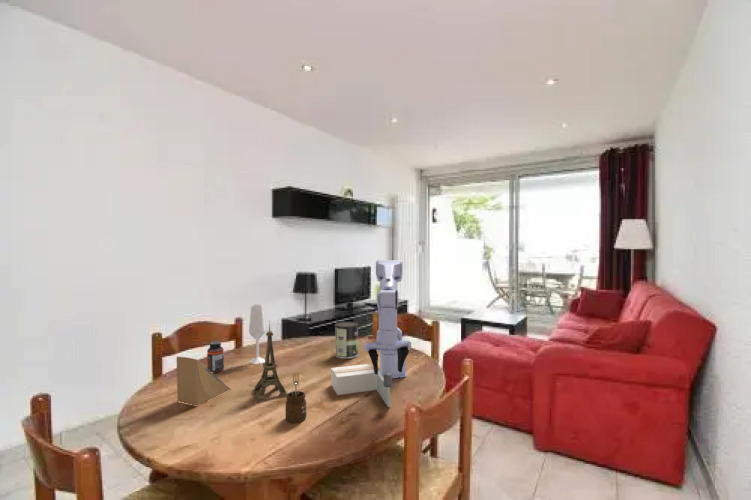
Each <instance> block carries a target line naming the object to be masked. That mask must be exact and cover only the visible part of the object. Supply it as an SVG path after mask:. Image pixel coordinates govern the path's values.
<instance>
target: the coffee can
mask: <svg viewBox="0 0 751 500" xmlns="http://www.w3.org/2000/svg"><path fill="white" fill-rule="evenodd" d="M334 326H335V327H334V328H335V335H334V336H335V338H334V339H335V357H336V358H338V359H343V360H344V359H345V360H347V359H348V360H349V359H355V358H357V357H358V356H359V323H357V322H356V321H355V322H353V321H342V322H341V321H340V322H336V323H335V324H334Z"/></svg>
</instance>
